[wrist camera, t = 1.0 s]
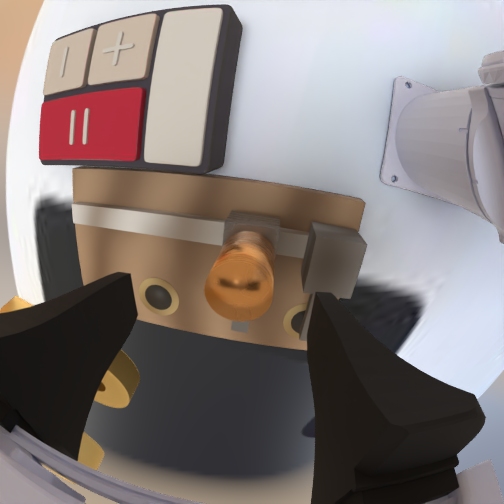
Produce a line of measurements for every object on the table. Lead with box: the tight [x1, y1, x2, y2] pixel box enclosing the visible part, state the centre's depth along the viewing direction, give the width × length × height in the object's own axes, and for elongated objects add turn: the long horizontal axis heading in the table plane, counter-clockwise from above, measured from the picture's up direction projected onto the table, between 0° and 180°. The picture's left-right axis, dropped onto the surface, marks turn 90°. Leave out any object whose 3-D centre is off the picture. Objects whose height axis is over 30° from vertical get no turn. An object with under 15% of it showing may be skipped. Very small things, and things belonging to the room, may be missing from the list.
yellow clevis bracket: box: [0, 296, 140, 484], centre depth 21 cm, size 20×9×16 cm, turn 77°
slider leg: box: [204, 210, 280, 333], centre depth 16 cm, size 3×9×7 cm, turn 173°
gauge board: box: [72, 166, 367, 350], centre depth 19 cm, size 22×13×5 cm, turn 83°
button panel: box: [39, 5, 242, 174], centre depth 15 cm, size 11×4×15 cm
